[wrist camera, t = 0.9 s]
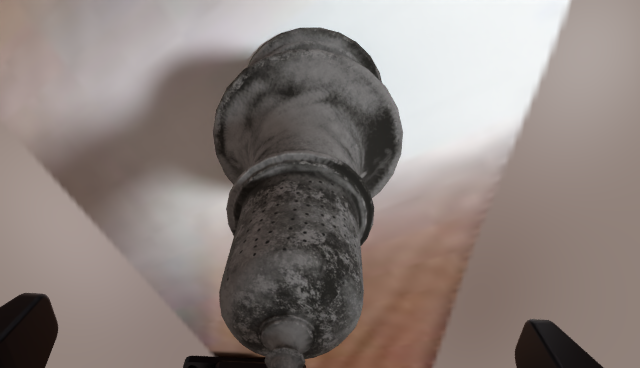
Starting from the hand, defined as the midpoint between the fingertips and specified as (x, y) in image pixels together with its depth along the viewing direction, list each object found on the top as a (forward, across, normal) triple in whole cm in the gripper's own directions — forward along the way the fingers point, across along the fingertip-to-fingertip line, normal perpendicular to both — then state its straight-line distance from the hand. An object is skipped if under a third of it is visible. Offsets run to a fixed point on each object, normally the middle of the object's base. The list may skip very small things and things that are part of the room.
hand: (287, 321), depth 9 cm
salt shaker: (+11, 0, 0) cm, 11 cm away
